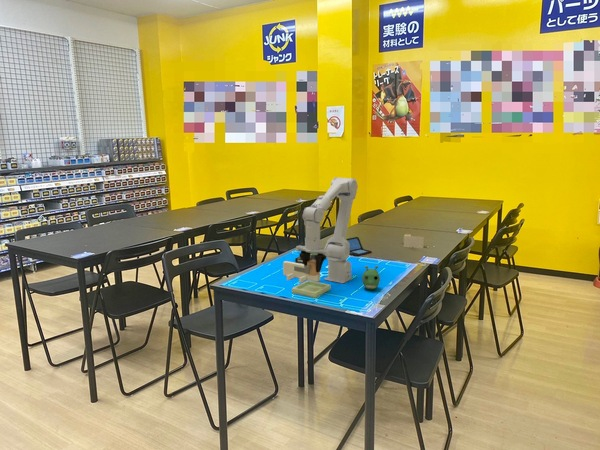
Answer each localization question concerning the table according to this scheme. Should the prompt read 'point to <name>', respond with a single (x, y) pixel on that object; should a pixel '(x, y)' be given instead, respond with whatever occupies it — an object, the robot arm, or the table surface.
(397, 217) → the table surface
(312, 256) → the disk drive
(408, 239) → the model
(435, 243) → the table surface
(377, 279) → the alien toy
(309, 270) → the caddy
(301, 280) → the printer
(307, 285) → the tray
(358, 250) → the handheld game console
